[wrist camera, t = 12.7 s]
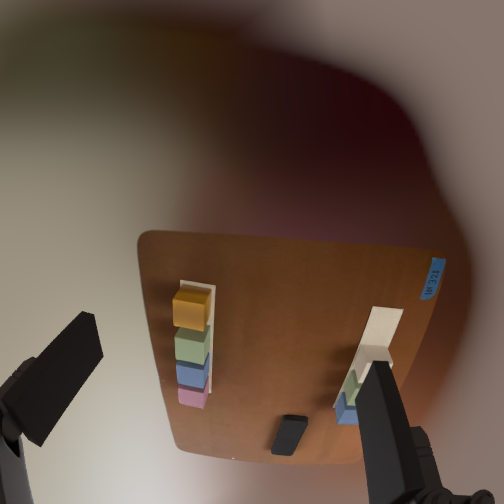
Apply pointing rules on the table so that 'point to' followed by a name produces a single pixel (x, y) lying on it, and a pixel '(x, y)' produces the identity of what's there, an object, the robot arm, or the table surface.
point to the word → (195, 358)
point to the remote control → (289, 435)
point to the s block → (192, 307)
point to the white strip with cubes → (366, 359)
